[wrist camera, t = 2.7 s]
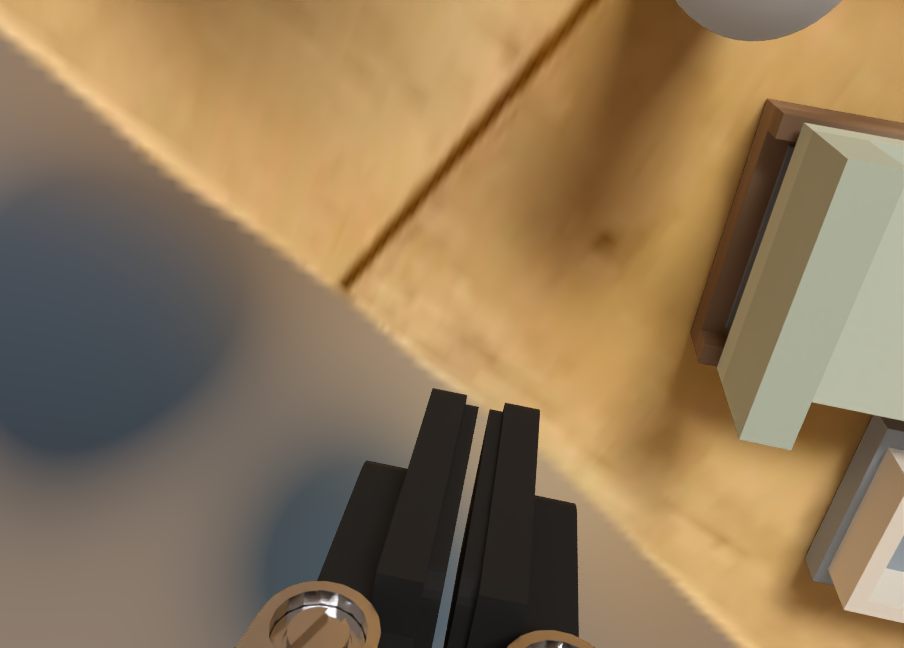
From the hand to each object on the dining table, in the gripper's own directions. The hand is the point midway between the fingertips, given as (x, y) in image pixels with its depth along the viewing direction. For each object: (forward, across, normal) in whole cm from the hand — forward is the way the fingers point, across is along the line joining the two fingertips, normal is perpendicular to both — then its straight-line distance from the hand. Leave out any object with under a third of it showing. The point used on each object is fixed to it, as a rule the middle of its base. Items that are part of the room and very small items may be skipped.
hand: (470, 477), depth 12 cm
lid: (+13, -11, 0) cm, 17 cm away
